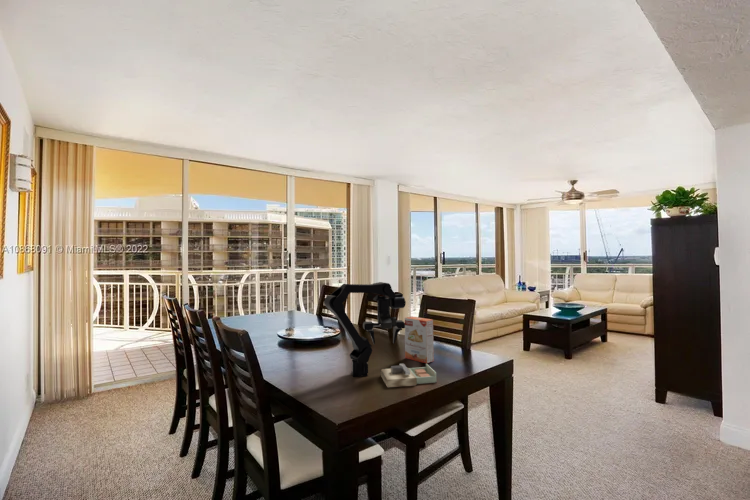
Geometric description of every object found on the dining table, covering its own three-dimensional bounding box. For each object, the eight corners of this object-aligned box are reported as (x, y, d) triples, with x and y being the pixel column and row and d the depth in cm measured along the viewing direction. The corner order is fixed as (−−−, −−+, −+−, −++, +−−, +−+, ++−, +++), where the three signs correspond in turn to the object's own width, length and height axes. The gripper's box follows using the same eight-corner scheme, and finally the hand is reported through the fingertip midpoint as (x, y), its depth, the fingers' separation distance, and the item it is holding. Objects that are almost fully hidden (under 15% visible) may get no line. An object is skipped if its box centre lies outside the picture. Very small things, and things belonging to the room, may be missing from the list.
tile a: (430, 376, 156) (430, 380, 156) (427, 373, 160) (427, 377, 160) (421, 377, 155) (421, 380, 155) (418, 374, 159) (418, 377, 159)
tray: (416, 383, 153) (416, 374, 153) (408, 373, 166) (408, 364, 166) (436, 382, 155) (436, 372, 155) (427, 372, 168) (426, 363, 168)
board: (387, 387, 150) (387, 379, 150) (381, 376, 164) (381, 369, 164) (416, 385, 152) (416, 377, 152) (407, 374, 166) (407, 367, 166)
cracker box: (404, 358, 190) (404, 317, 190) (412, 356, 194) (411, 315, 194) (426, 364, 180) (426, 320, 180) (434, 361, 184) (433, 319, 184)
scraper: (410, 376, 154) (394, 377, 153) (403, 368, 165) (389, 369, 164) (410, 370, 154) (394, 371, 153) (403, 362, 165) (389, 363, 164)
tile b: (426, 371, 162) (426, 375, 162) (423, 369, 166) (423, 372, 166) (417, 372, 161) (417, 376, 161) (414, 369, 165) (414, 373, 165)
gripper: (366, 313, 163) (366, 349, 163) (407, 311, 166) (408, 347, 166) (362, 309, 174) (363, 343, 174) (401, 308, 177) (402, 341, 177)
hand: (384, 343), depth 172 cm, fingers open, 9 cm apart
